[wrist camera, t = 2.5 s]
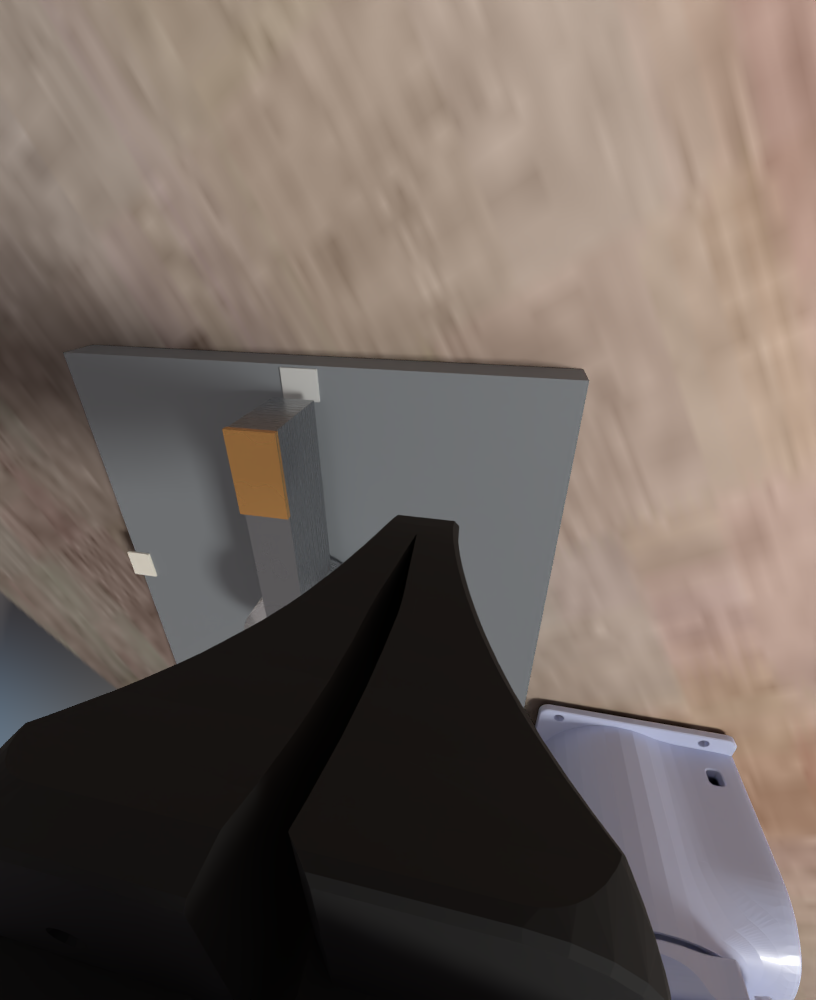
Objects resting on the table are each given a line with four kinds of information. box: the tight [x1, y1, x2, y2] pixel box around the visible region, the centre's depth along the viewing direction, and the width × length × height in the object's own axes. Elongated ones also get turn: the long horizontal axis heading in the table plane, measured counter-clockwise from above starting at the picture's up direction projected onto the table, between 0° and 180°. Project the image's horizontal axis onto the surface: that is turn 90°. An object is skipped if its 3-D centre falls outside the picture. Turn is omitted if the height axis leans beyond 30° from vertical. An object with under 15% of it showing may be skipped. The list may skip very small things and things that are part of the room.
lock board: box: [63, 345, 589, 708], centre depth 22 cm, size 20×21×2 cm
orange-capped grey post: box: [222, 397, 341, 630], centre depth 18 cm, size 4×12×4 cm, turn 0°
